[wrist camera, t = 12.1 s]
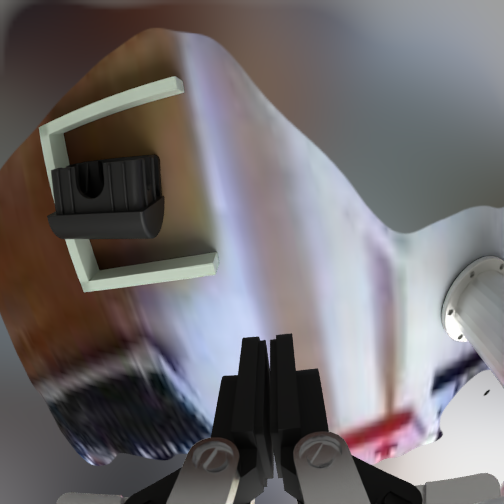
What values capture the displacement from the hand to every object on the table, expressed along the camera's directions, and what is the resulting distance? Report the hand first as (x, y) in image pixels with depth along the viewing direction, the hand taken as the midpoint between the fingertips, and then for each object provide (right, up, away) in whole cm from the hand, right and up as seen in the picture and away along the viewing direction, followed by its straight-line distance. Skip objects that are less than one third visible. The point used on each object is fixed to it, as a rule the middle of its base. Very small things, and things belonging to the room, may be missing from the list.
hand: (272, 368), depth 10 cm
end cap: (-14, +10, +19) cm, 26 cm away
